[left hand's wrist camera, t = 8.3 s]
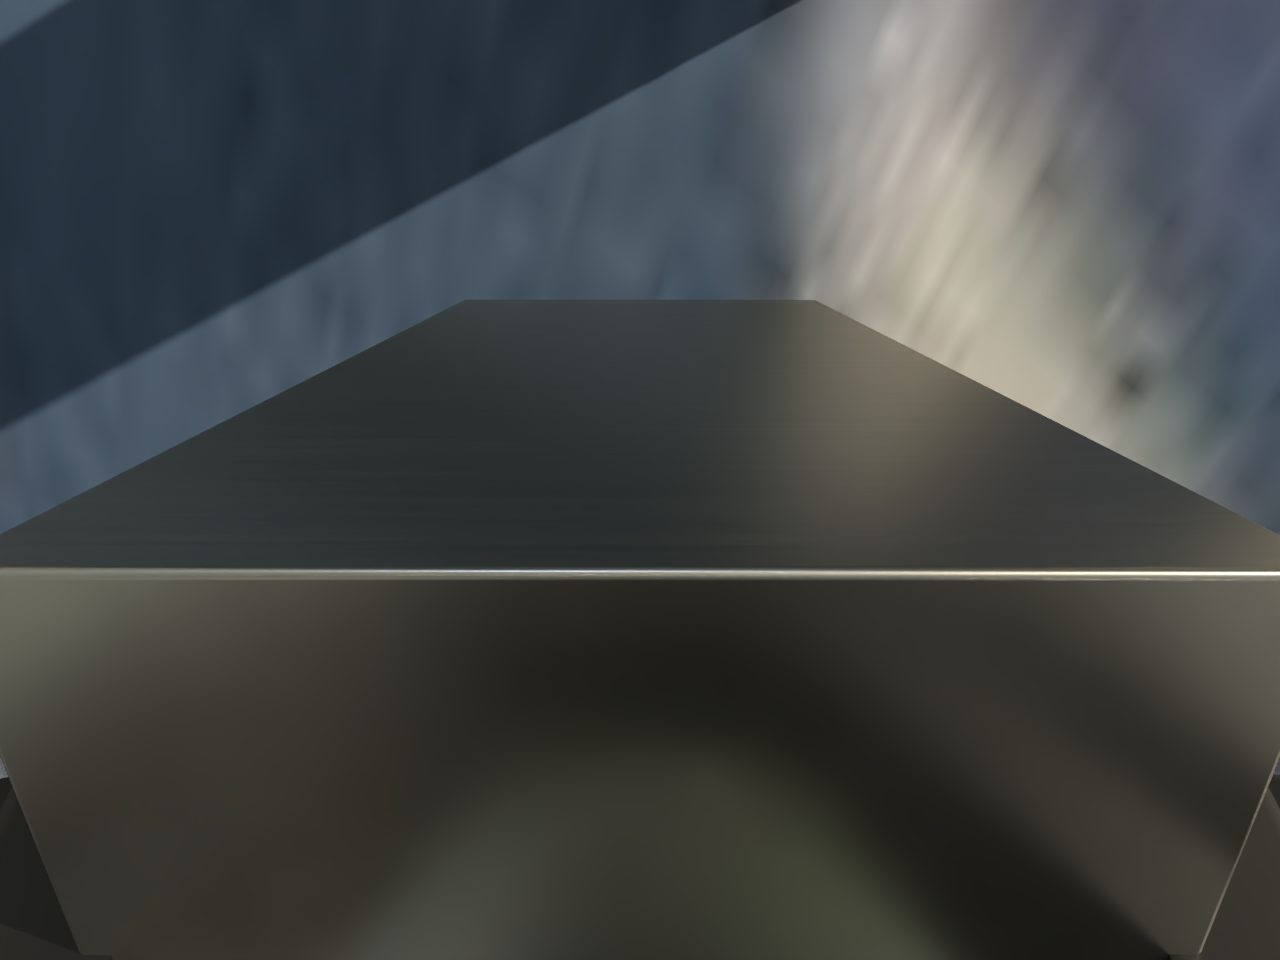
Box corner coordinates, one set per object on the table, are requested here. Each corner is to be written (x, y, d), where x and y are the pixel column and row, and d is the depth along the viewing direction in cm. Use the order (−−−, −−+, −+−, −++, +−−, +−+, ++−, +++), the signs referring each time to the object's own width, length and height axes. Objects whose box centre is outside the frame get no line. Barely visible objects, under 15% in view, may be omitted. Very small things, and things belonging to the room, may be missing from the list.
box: (463, 299, 16) (-83, 569, 4) (817, 299, 16) (1363, 571, 4) (521, 975, 24) (400, 1753, 12) (757, 975, 24) (877, 1753, 12)
